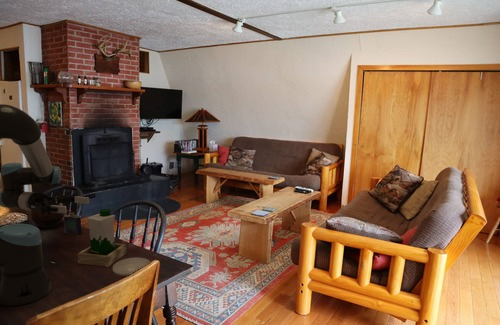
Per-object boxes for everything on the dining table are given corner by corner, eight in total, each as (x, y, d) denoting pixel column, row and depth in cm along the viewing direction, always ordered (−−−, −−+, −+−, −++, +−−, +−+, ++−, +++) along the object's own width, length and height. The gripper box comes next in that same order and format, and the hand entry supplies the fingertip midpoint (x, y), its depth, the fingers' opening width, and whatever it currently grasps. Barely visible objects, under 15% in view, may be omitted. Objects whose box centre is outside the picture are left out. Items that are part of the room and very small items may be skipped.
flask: (63, 233, 175) (61, 212, 173) (67, 231, 177) (66, 210, 176) (79, 235, 172) (78, 214, 171) (83, 233, 175) (82, 212, 174)
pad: (138, 277, 131) (138, 275, 131) (105, 273, 134) (104, 271, 134) (156, 261, 145) (156, 259, 145) (125, 258, 148) (125, 256, 148)
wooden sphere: (69, 227, 184) (67, 198, 181) (36, 234, 174) (33, 204, 171) (60, 220, 195) (58, 193, 192) (28, 226, 184) (26, 198, 182)
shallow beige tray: (108, 266, 140) (107, 257, 139) (78, 263, 143) (77, 253, 142) (126, 253, 153) (126, 244, 152) (99, 250, 155) (98, 241, 155)
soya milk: (119, 256, 150) (117, 210, 146) (101, 264, 142) (98, 216, 138) (104, 252, 154) (102, 207, 150) (86, 259, 146) (83, 212, 142)
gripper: (56, 201, 164) (97, 205, 159) (9, 219, 140) (56, 223, 135) (54, 185, 162) (96, 189, 158) (7, 200, 138) (54, 204, 134)
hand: (77, 205), depth 147 cm, fingers open, 13 cm apart
